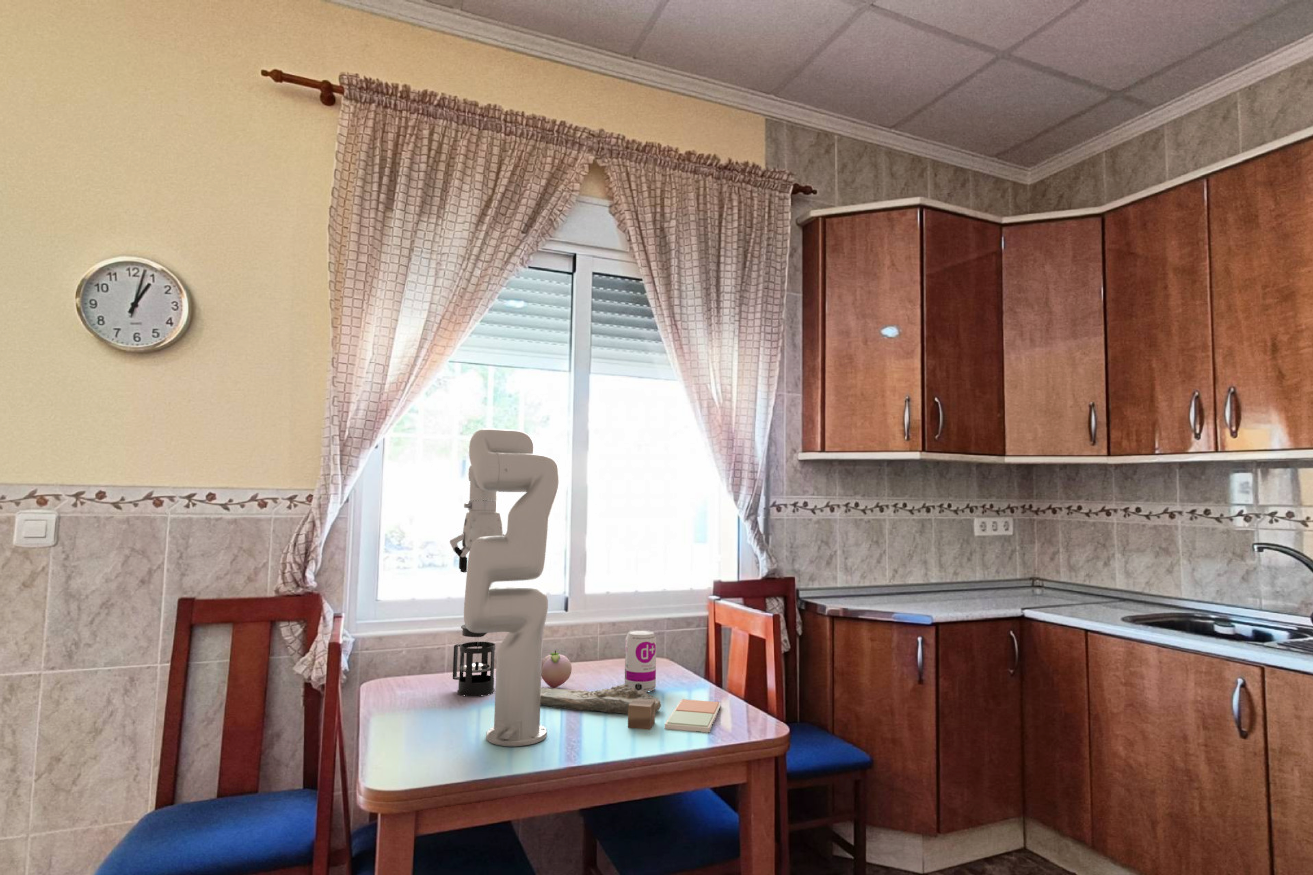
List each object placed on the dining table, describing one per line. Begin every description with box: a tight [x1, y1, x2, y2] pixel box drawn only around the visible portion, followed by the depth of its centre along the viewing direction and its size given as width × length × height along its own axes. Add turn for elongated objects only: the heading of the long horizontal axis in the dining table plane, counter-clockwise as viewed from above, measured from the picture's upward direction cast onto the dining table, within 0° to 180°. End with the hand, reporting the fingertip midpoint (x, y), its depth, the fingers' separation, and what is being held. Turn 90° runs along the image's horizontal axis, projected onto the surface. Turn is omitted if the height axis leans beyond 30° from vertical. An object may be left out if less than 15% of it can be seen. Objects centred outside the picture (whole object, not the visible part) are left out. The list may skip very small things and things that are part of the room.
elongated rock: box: [540, 683, 662, 715], centre depth 174 cm, size 35×5×10 cm
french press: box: [452, 624, 496, 697], centre depth 186 cm, size 12×9×23 cm
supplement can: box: [624, 629, 657, 692], centre depth 190 cm, size 8×8×15 cm
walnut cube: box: [627, 699, 656, 731], centre depth 160 cm, size 5×5×5 cm
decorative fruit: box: [541, 649, 573, 689], centre depth 190 cm, size 9×8×10 cm
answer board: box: [664, 698, 722, 733], centre depth 166 cm, size 20×10×1 cm, turn 167°
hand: (481, 571), depth 191 cm, fingers open, 9 cm apart
